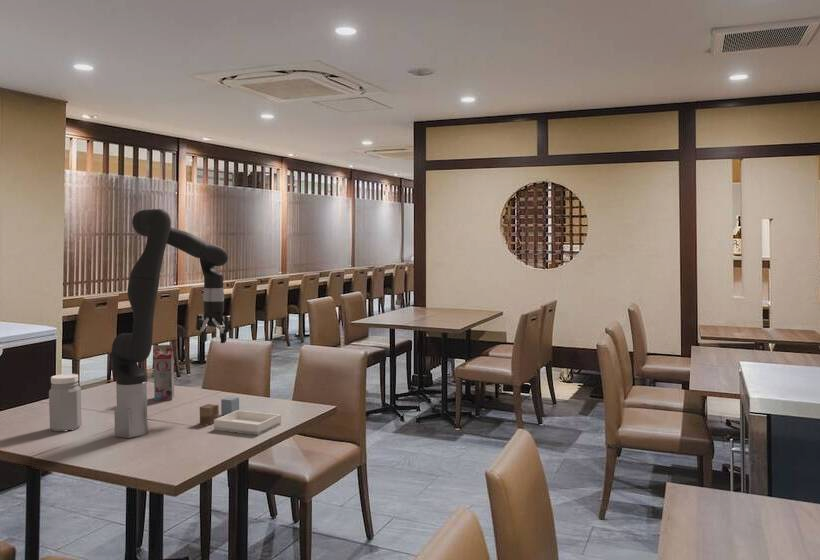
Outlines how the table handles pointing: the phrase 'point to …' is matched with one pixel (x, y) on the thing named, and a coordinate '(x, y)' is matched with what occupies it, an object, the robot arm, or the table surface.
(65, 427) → the jar
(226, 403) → the slate block
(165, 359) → the printed cardboard box
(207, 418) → the walnut block
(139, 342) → the robot arm
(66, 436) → the table surface
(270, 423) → the tray
